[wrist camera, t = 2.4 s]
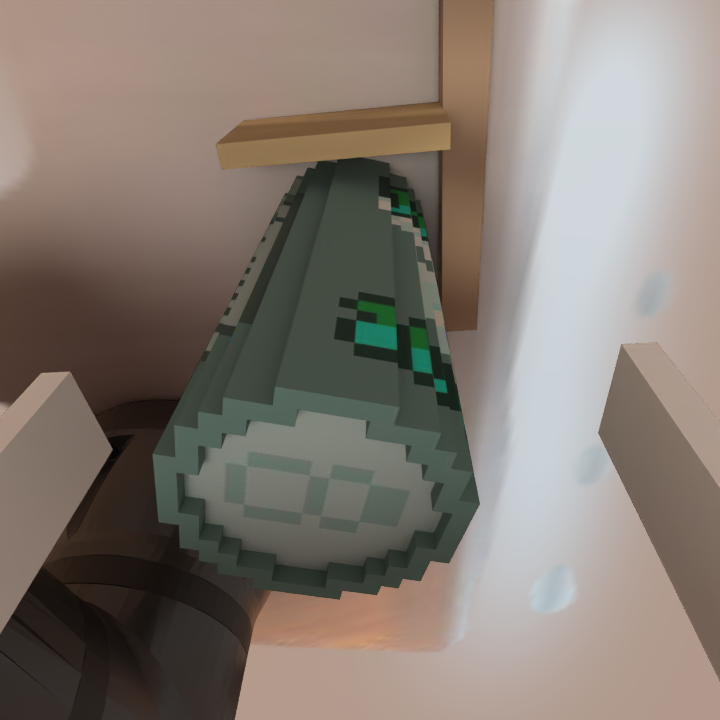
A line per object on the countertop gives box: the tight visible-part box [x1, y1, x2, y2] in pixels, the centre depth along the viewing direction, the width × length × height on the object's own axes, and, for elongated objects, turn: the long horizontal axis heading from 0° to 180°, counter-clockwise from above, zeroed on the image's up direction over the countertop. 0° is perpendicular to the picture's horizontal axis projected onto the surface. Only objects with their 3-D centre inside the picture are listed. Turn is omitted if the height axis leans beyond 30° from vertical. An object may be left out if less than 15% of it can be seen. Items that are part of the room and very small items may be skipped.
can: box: [153, 157, 480, 600], centre depth 16 cm, size 6×6×15 cm
